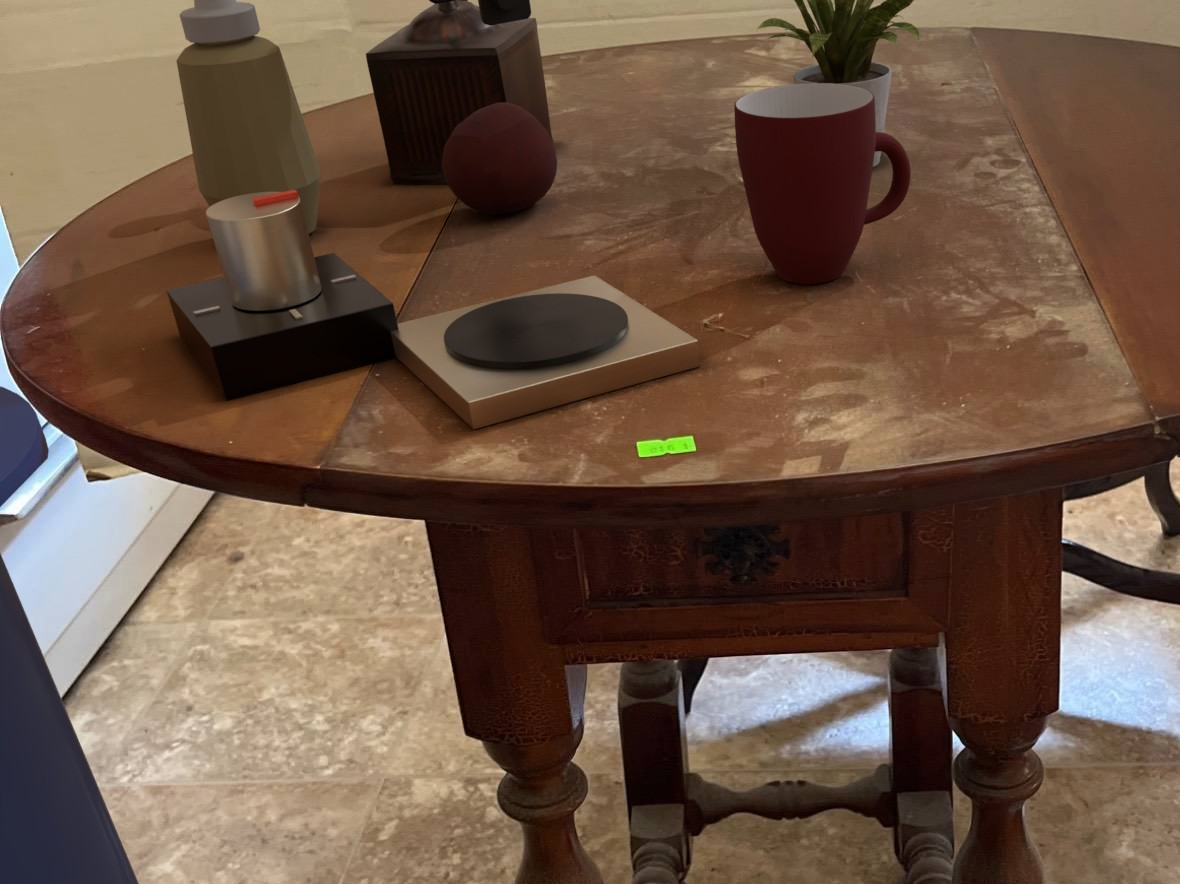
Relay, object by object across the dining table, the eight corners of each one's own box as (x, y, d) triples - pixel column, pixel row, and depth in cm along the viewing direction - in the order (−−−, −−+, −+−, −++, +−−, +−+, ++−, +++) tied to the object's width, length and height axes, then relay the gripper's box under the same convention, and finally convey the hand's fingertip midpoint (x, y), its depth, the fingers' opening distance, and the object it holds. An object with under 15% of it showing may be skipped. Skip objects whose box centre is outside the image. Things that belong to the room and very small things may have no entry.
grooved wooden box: (560, 142, 118) (525, -116, 107) (521, 182, 109) (478, -93, 98) (378, 145, 120) (326, -106, 110) (325, 186, 112) (262, -83, 101)
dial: (243, 318, 80) (216, 220, 77) (221, 293, 84) (194, 198, 81) (332, 297, 82) (309, 200, 79) (307, 273, 86) (284, 180, 82)
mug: (866, 235, 95) (863, 69, 89) (937, 268, 89) (939, 93, 83) (721, 270, 91) (709, 99, 85) (786, 307, 85) (777, 126, 79)
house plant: (731, 200, 103) (712, -63, 93) (731, 146, 114) (715, -94, 104) (935, 187, 102) (938, -79, 93) (916, 134, 113) (917, -108, 104)
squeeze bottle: (197, 256, 99) (111, -41, 89) (236, 219, 106) (161, -62, 95) (314, 251, 99) (242, -49, 88) (346, 214, 105) (283, -70, 95)
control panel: (226, 400, 79) (209, 343, 77) (181, 339, 87) (165, 287, 85) (404, 355, 83) (392, 300, 81) (345, 301, 90) (333, 249, 89)
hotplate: (473, 430, 74) (466, 394, 73) (390, 352, 83) (383, 319, 82) (700, 366, 79) (697, 332, 78) (597, 299, 88) (593, 268, 87)
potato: (427, 222, 103) (406, 116, 98) (507, 188, 108) (491, 87, 104) (506, 235, 99) (488, 126, 95) (585, 200, 105) (571, 96, 101)
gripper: (319, -303, 91) (381, 1, 101) (413, -306, 78) (473, 41, 89) (434, -313, 93) (483, -16, 104) (542, -318, 81) (586, 20, 91)
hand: (478, 10), depth 96 cm, fingers open, 9 cm apart
